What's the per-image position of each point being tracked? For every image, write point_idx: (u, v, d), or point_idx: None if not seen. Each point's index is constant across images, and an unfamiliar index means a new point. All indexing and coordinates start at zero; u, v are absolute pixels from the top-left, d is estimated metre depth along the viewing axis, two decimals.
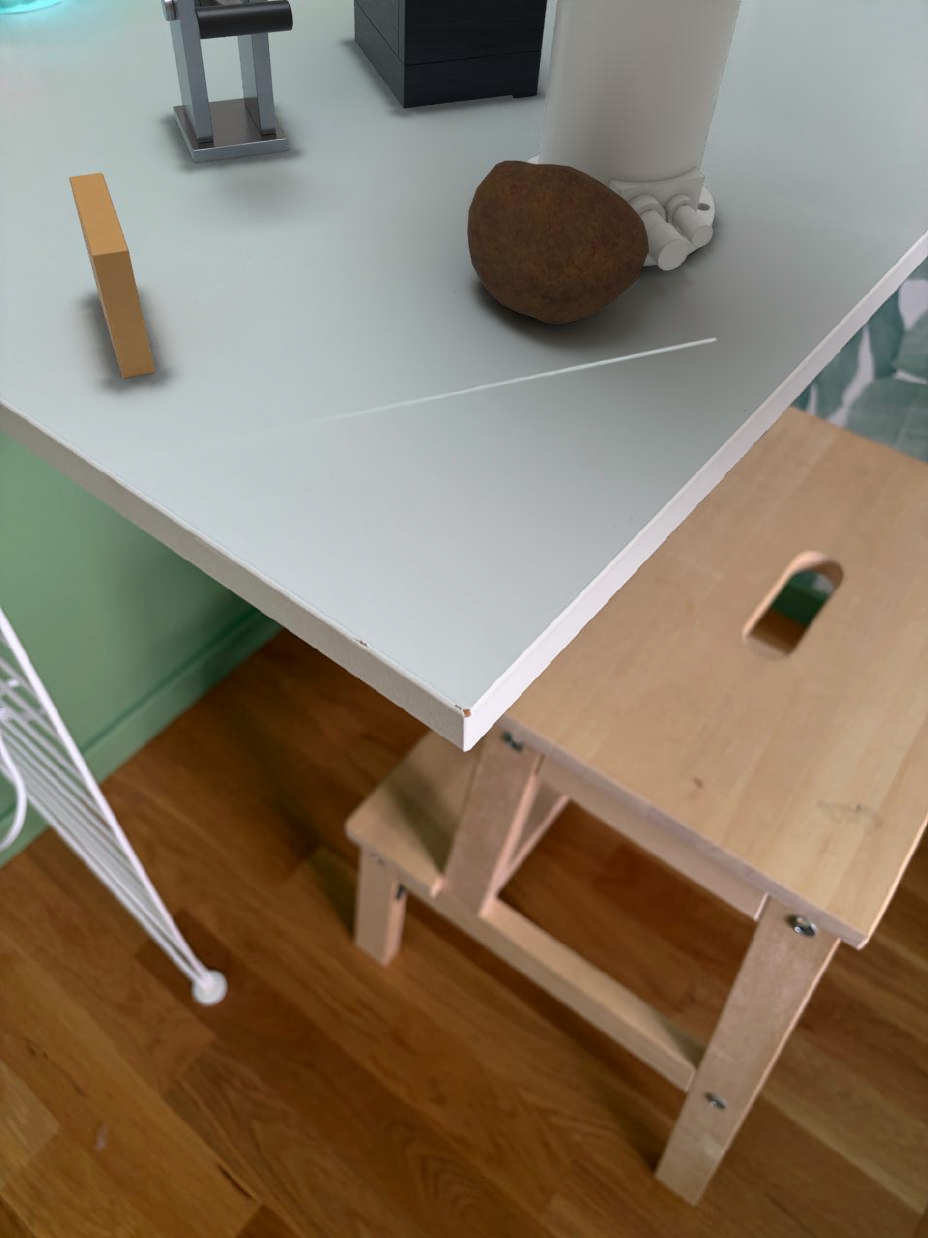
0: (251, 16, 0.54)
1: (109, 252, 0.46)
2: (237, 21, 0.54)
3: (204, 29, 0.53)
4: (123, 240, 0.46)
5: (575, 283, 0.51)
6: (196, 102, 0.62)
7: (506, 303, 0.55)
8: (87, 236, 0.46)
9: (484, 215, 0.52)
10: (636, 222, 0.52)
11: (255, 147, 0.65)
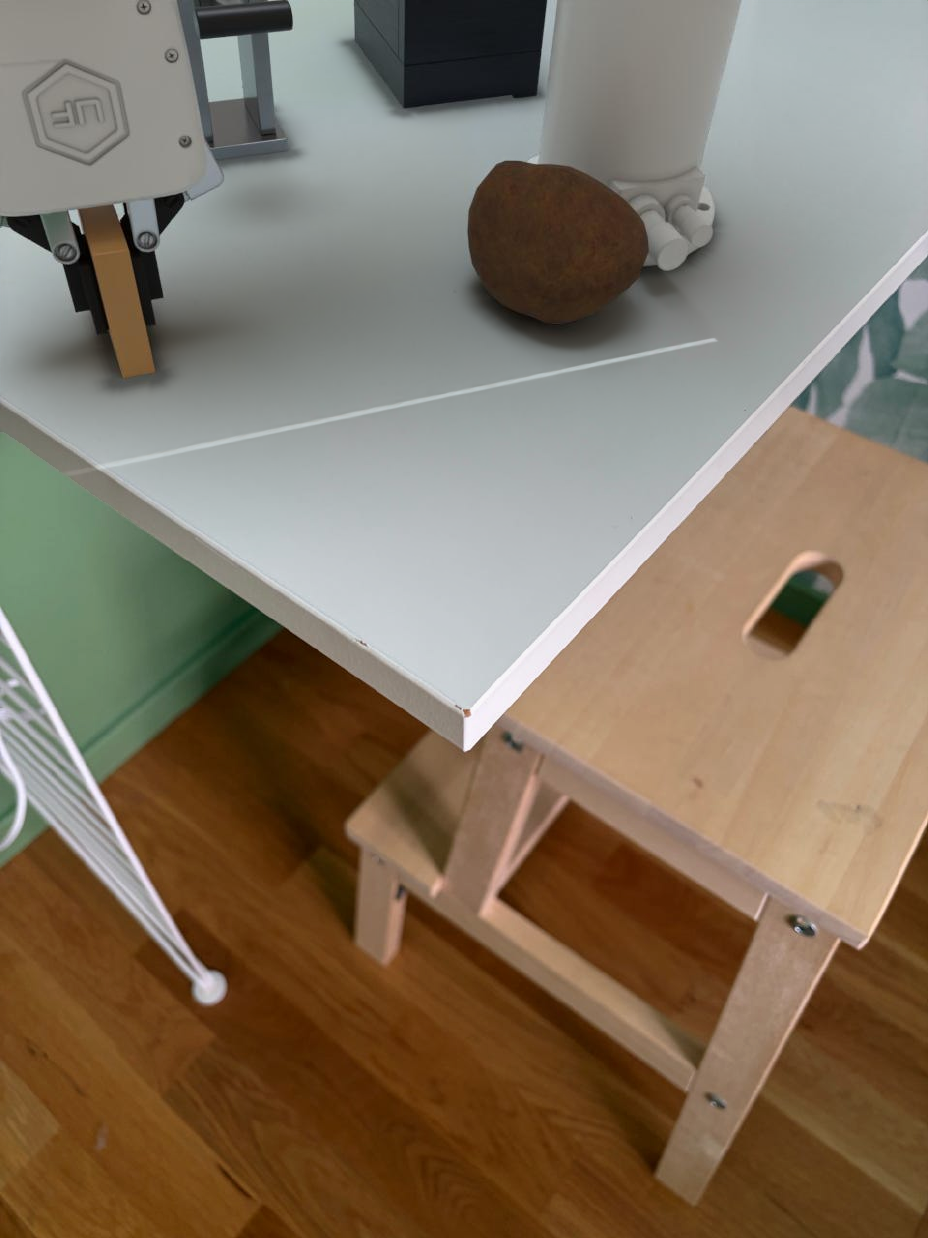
0: (251, 16, 0.54)
1: (109, 252, 0.46)
2: (237, 21, 0.54)
3: (204, 29, 0.53)
4: (123, 240, 0.46)
5: (575, 283, 0.51)
6: None
7: (506, 303, 0.55)
8: (87, 236, 0.46)
9: (484, 215, 0.52)
10: (636, 222, 0.52)
11: (255, 147, 0.65)
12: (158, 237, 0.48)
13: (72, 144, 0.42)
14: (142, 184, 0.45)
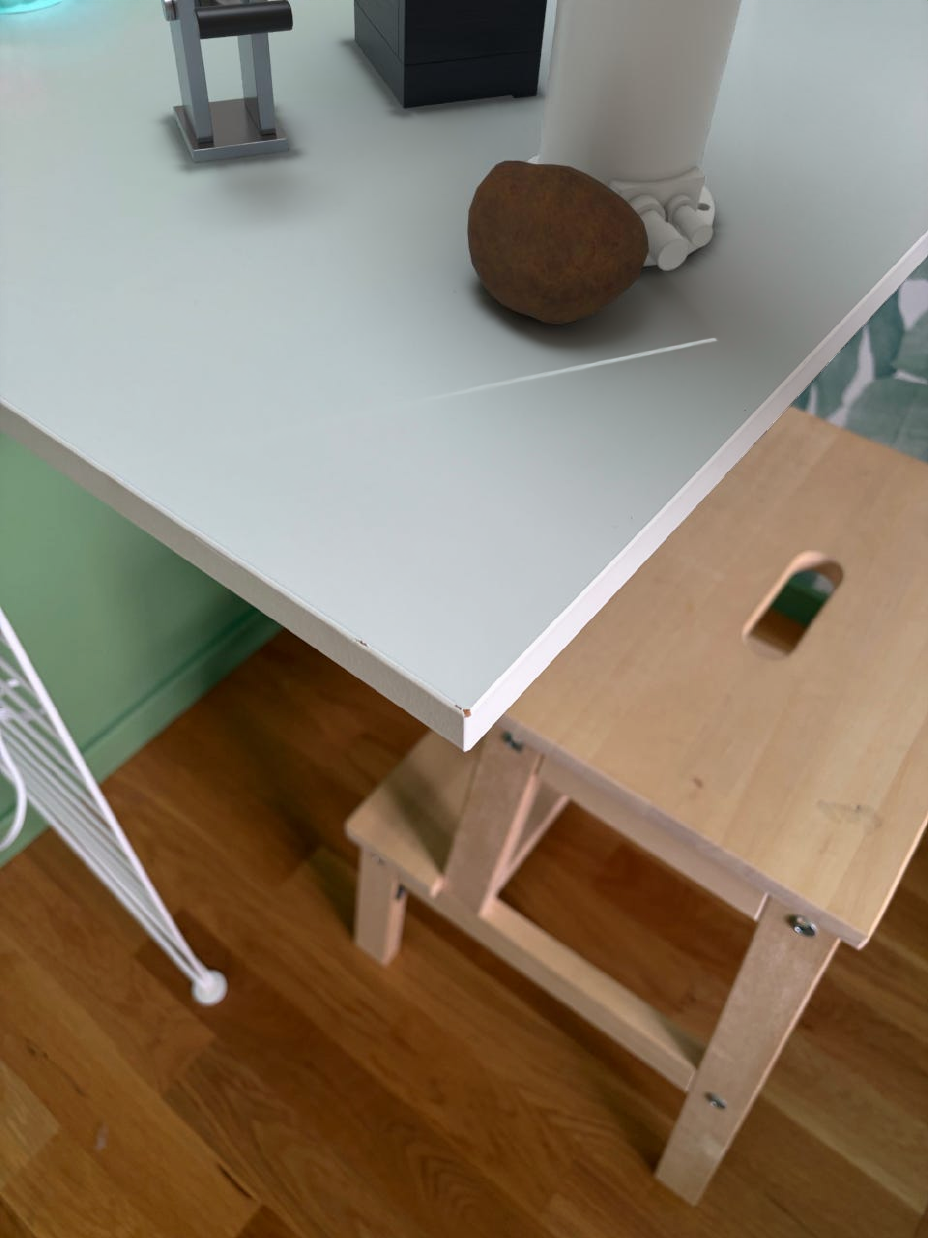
0: (251, 16, 0.54)
1: None
2: (237, 21, 0.54)
3: (204, 29, 0.53)
4: None
5: (575, 283, 0.51)
6: (196, 102, 0.62)
7: (506, 303, 0.55)
8: None
9: (484, 215, 0.52)
10: (636, 222, 0.52)
11: (255, 147, 0.65)
12: None
13: None
14: None
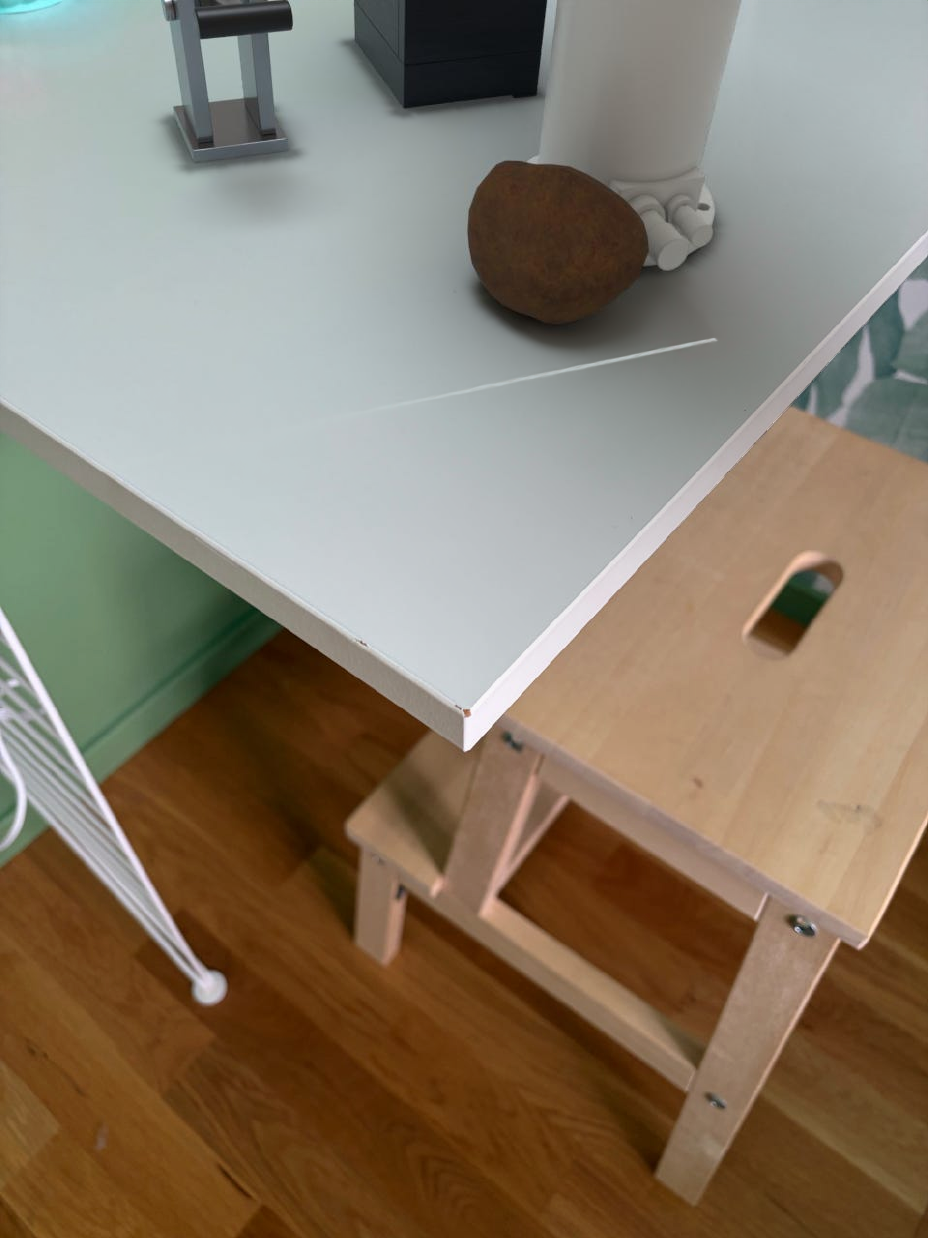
0: (251, 16, 0.54)
1: None
2: (237, 21, 0.54)
3: (204, 29, 0.53)
4: None
5: (575, 283, 0.51)
6: (196, 102, 0.62)
7: (506, 303, 0.55)
8: None
9: (484, 215, 0.52)
10: (636, 222, 0.52)
11: (255, 147, 0.65)
12: None
13: None
14: None
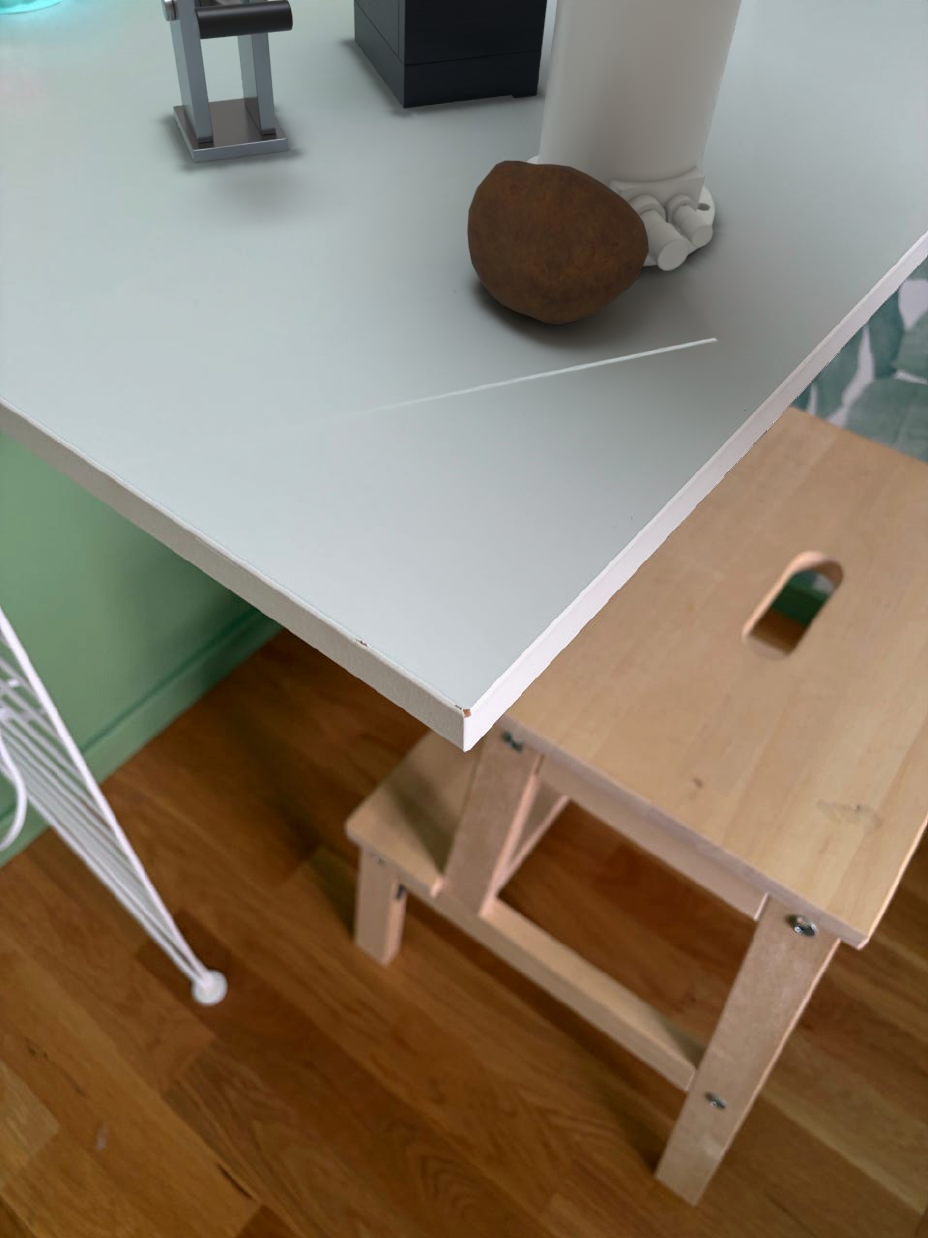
0: (251, 16, 0.54)
1: None
2: (237, 21, 0.54)
3: (204, 29, 0.53)
4: None
5: (575, 283, 0.51)
6: (196, 102, 0.62)
7: (506, 303, 0.55)
8: None
9: (484, 215, 0.52)
10: (636, 222, 0.52)
11: (255, 147, 0.65)
12: None
13: None
14: None
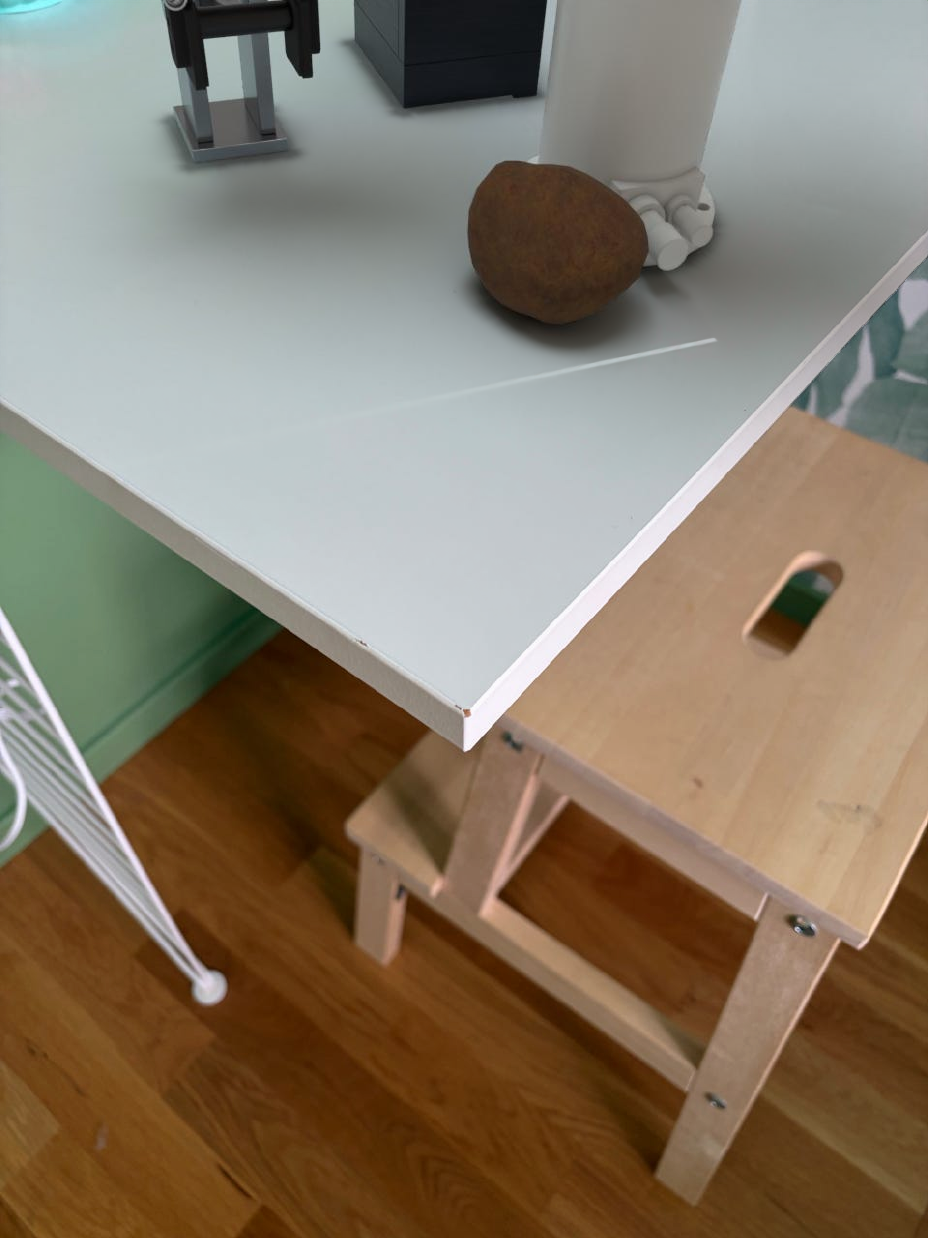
0: (251, 16, 0.54)
1: None
2: (237, 21, 0.54)
3: (204, 29, 0.53)
4: None
5: (575, 283, 0.51)
6: (196, 102, 0.62)
7: (506, 303, 0.55)
8: None
9: (484, 215, 0.52)
10: (636, 222, 0.52)
11: (255, 147, 0.65)
12: None
13: None
14: None
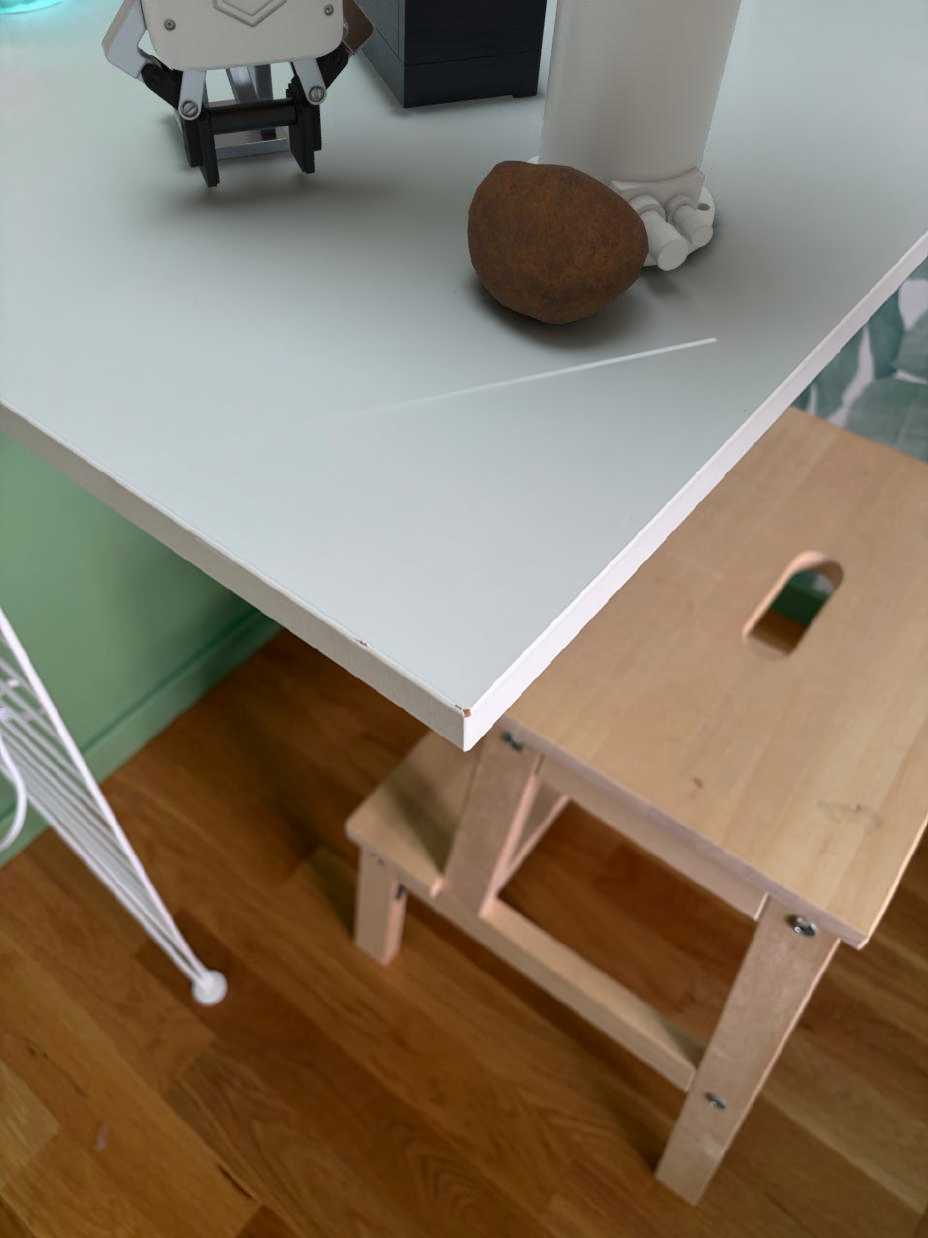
0: (260, 123, 0.58)
1: None
2: (247, 127, 0.58)
3: (216, 133, 0.58)
4: None
5: (575, 283, 0.51)
6: None
7: (506, 303, 0.55)
8: None
9: (484, 215, 0.52)
10: (636, 222, 0.52)
11: (255, 147, 0.65)
12: (325, 91, 0.58)
13: (241, 7, 0.52)
14: (292, 46, 0.54)
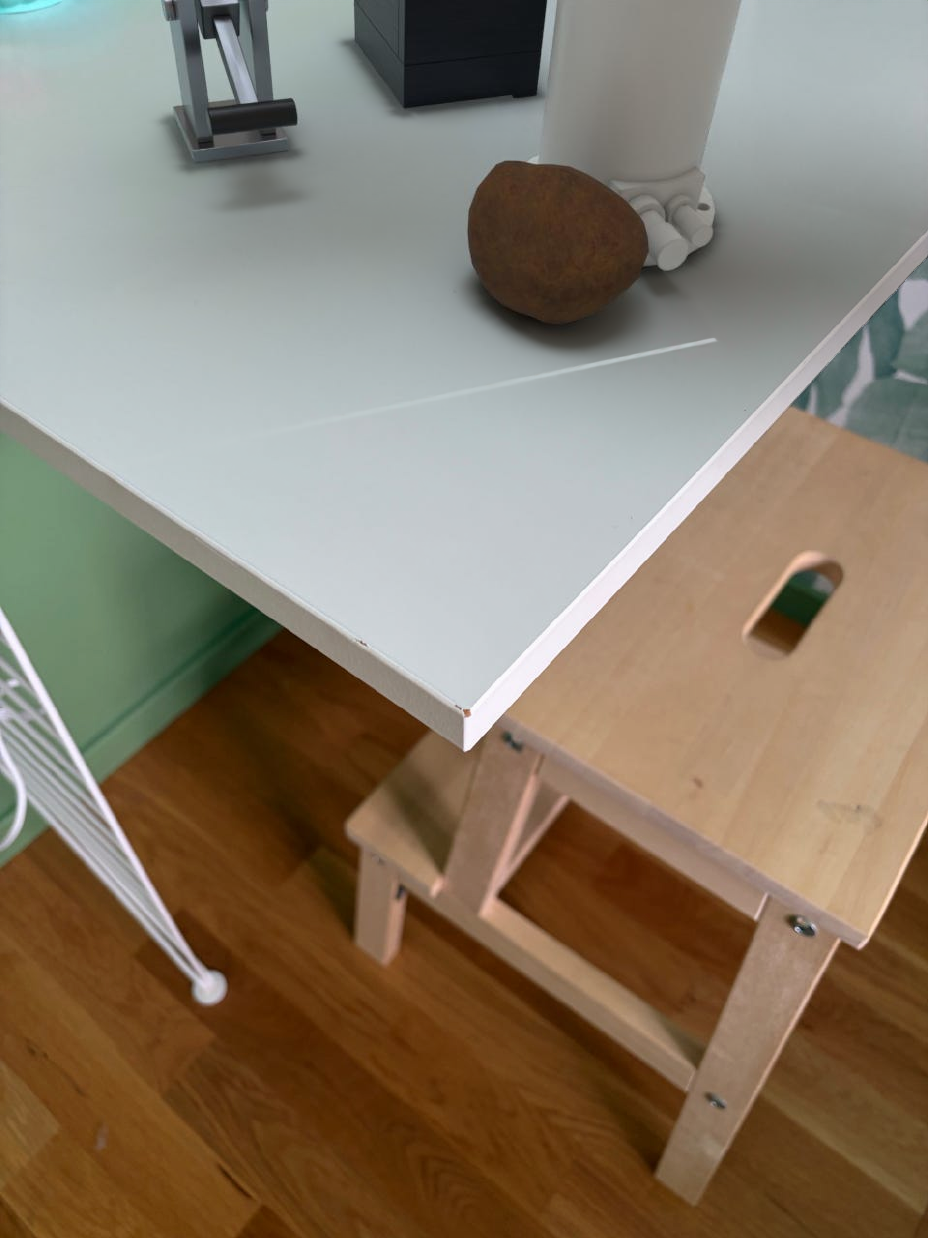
0: (260, 123, 0.58)
1: None
2: (247, 128, 0.58)
3: (216, 134, 0.58)
4: None
5: (575, 283, 0.51)
6: (196, 102, 0.62)
7: (506, 303, 0.55)
8: None
9: (484, 215, 0.52)
10: (636, 222, 0.52)
11: (255, 147, 0.65)
12: None
13: None
14: None
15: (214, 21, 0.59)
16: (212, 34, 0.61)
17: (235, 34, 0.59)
